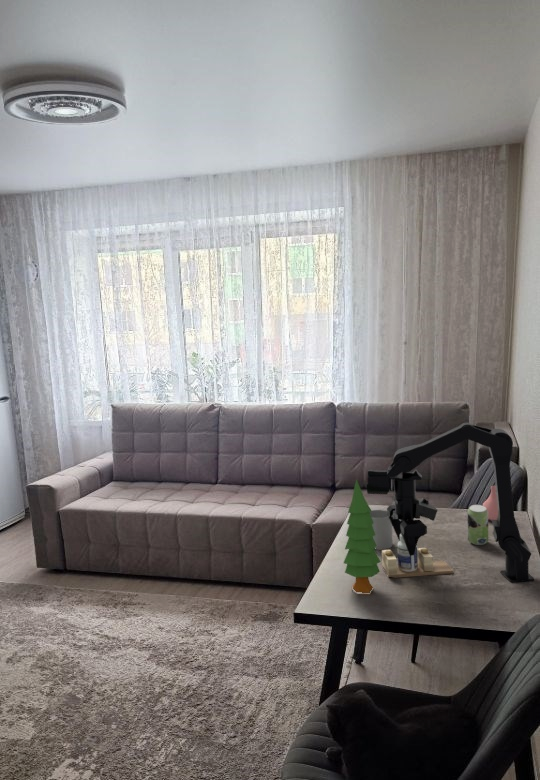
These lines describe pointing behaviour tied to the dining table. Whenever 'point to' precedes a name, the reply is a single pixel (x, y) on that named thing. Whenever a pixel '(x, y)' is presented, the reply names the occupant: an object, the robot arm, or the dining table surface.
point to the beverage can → (478, 524)
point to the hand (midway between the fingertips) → (406, 549)
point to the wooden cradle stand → (393, 571)
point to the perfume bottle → (492, 504)
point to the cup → (382, 529)
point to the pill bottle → (406, 557)
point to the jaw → (425, 559)
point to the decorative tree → (361, 543)
